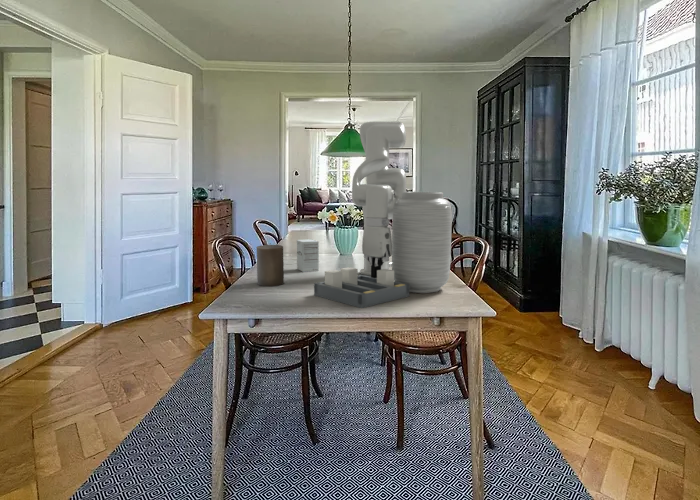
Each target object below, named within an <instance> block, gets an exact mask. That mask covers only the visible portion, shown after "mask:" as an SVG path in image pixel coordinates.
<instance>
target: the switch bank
mask: <svg viewBox="0 0 700 500" xmlns="http://www.w3.org/2000/svg"><path fill="white" fill-rule="evenodd" d="M313 284H314V285H313V295H314V296H316V297H319V298H322V299H326V300H330V301H334V302H338V303H342V304H345V305H348V306H352V307H356V308H359V309H364V308H367V307H371V306H375V305H380V304H383V303H388V302H392V301H395V300H399V299H400V300H401V299H405V298H408V297H410V292H409V287H410V284H405V283H400V282H395V281H394V286H389V285H384V284H379V283H377V278H371V276H370V275H364V274H358V284H357V285H355V284H350V283H346V282H342V288H338V287H334V286H330V285H326V284H325V280H324V281H319V282H314V283H313Z"/></svg>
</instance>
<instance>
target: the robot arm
mask: <svg viewBox="0 0 700 500" xmlns="http://www.w3.org/2000/svg"><path fill="white" fill-rule="evenodd" d="M406 132H407V131H406V127H405V125H404V123H403V122H401V121H367V122H364V123H362V124H361V125H360V127H359V139H360V142H361V145H362V147H363V151H364V154H365V160H364V161H362V162H361V164H360V165H359V166H358V167H357V168H356V169H355V172H353V176H352V184H351V186H352V187H351V198H352V199H351V200H352V202H353V204H354V205H355V206H358V207H362V217H363V234H362V242H361V243H362V245H361V247H362V248H361V251H362V254H363V268H361V269H359V273H360V275H366V276H370V277H371V278H377V270H382V269H389V270H390V268H392V261H391V262H390V257H392V232H391V231H392V230H391V228H390V227H389V225H390V223H391V222H390V220H393V207H394V204H395V202H396V201H397V200H398V199H401V198H402V193H403V192H407V176H406V171H405V170H404V169H403V168H400V167H389V163H390V149H402V148H403V147H404V146H405V145H406V140H407V133H406ZM364 179H366V183H364V184H362V183H361V182H362V181H363V180H364Z"/></svg>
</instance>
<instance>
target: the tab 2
mask: <svg viewBox="0 0 700 500" xmlns="http://www.w3.org/2000/svg"><path fill="white" fill-rule="evenodd" d="M377 283H379V284H384V285H389V286H394V270H392V269H390V268H389V269H382V270H377Z"/></svg>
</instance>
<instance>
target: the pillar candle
mask: <svg viewBox="0 0 700 500" xmlns="http://www.w3.org/2000/svg"><path fill="white" fill-rule="evenodd" d="M255 247H256V271H257V273H256V275H257V277H256V278H257V279H256V280H257V285H258V286H261V287H274V286H276V287H278V286H282V285H283V284H285V282H284V281H285V279H284V278H285V272H284V265H285V263H284V246H283V245H282V244H281V245H280V244H271V242H270V243H269V244H264V245H262V244H261V245H258V246H255Z"/></svg>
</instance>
